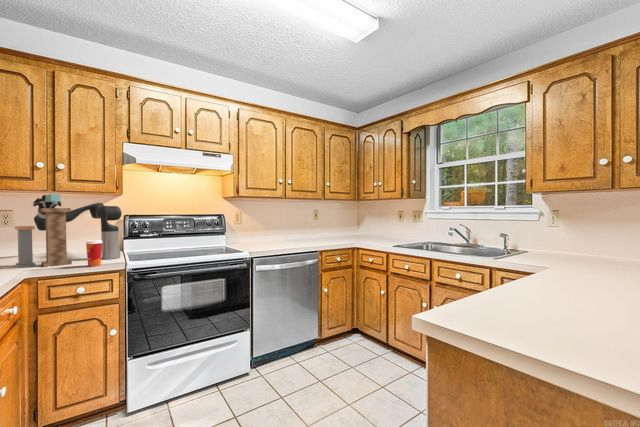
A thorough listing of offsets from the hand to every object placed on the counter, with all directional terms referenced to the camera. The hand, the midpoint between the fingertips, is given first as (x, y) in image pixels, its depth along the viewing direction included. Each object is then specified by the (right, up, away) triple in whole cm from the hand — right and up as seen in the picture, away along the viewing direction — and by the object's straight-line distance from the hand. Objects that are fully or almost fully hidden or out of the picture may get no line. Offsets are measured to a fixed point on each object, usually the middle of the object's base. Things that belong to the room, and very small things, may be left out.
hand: (49, 196), depth 189 cm
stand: (+13, -39, -11) cm, 43 cm away
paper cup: (+38, -40, -15) cm, 57 cm away
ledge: (-2, -40, -13) cm, 42 cm away
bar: (+5, -3, -4) cm, 7 cm away
